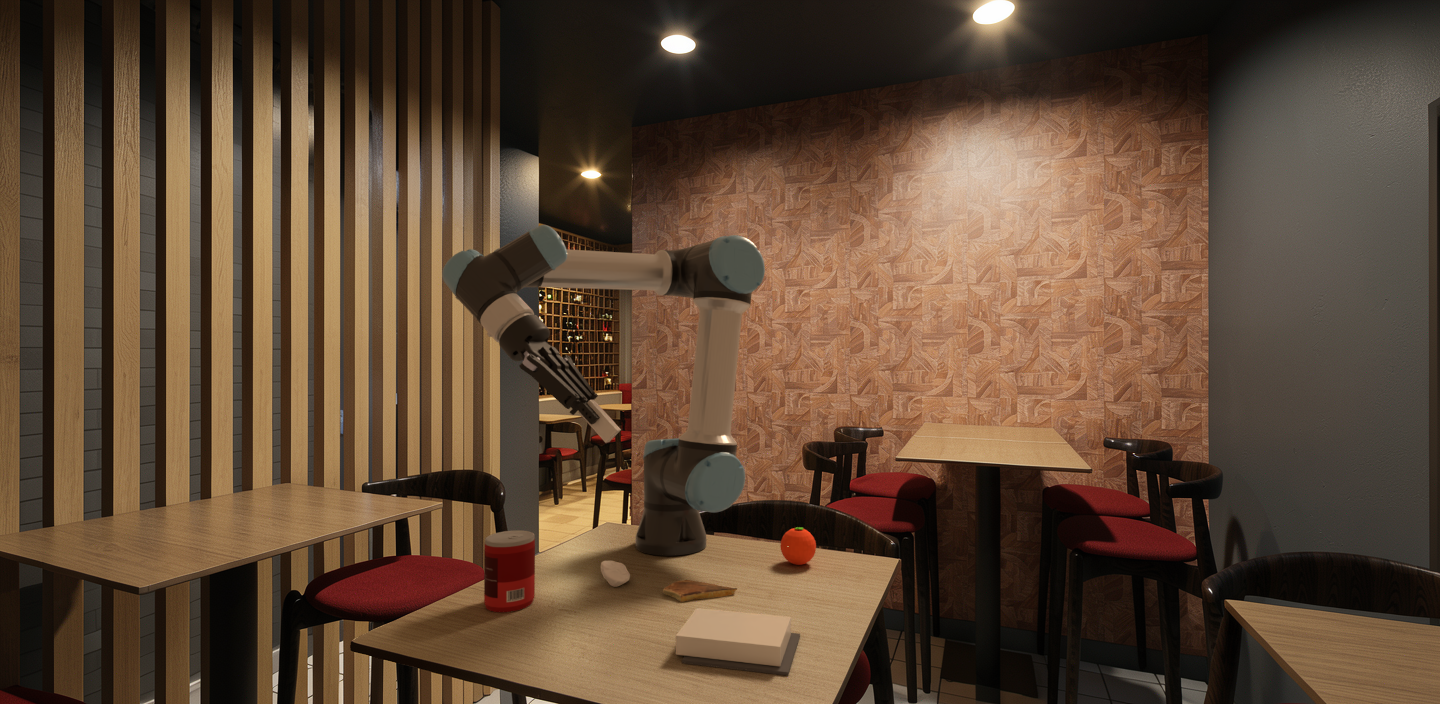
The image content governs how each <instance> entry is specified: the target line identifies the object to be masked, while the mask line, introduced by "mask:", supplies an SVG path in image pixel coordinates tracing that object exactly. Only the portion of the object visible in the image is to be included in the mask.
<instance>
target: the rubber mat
mask: <svg viewBox="0 0 1440 704" xmlns="http://www.w3.org/2000/svg"><path fill="white" fill-rule="evenodd" d="M800 639H801V633H797V632H791V636H790V639H789V642H788V645H787V648H786V651H785V654H784V657H783V660H782V663H781V666H771V665H763V664H754V663H745V662H737V661H728V660H719V659H711V658H702V657H694V656H685V655H683V656H684V657H683V658H682V659H681V663H682V664H688V665H694V666H695V665H696V666H704V667H713V668H720V669H729V670H736V671H737V670H738V671H746V672H755V673H763V674H771V675H772V674H773V675H780V676H789V675H790V671H791V668H792V664H793V661H794V658H795V655H796V651H797V649H798V644H799V641H800Z"/></svg>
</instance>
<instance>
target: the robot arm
mask: <svg viewBox="0 0 1440 704" xmlns="http://www.w3.org/2000/svg"><path fill="white" fill-rule="evenodd" d="M765 273H766V269H765V260H764V258H763V255H762V253H761V251H760V250H759V249H758V247H757V246H756V244H755V243H754V242H753V241H751V240H750V239H748V238H747V237H745V236H741V235H738V234H737V235H735V234H732V235H722V236H719V237H716V238H715V239H712V240H710V241H706V242H702V243H699V244H695V245H691V246H688V247H683V248H681V249H669V250H667V249H660V250H657V251H656V252H655V253H654V254H653V253H637V252H636V253H635V252H633V253H632V252H618V251H617V252H616V251H615V252H614V251H601V250H600V251H599V250H581V249H580V250H579V249H567V247H566V245H565V243H564V240H562V238H561V236H560V235H559V234H558V232H557V231H556V230H555V229H554V228H552V227H551V226H549V225H546V224H540V225H538V226H537V227H534V228H533V229H529V230H528V231H527V232H524V233H523V234H522V235H520V236H518V237H516V238H515V239H512V241H510V242H508V243H507V244H505V245H503V246H501V247H500V248H495V250H494V251H493V252H490V253H488V254H486V255H485V256H484V255H483V254H482V253H480V252H479V251H478V250H475V249H472V248H471V249H470V248H469V249H466V250H460V251H459V252H457V253H455V254H454V255H453V256H451V257H450V258H449V259H448V260H447V261H446V263H445V265H444V267H442V272H441V274H442V281H443V282H444V283H445V285H446V286H447V287H448V289H449V290H450V292H452V294H453V295H454V296H455V299H456V300H458V301H459V302H460V303H461V304H462V305H463V306H464V307H465V309H467V311H469V313H470V314H471V315H472V316H473V318H475V319H476V321H478V323H479V324H480V325H481V326H482V327H483V328H484V330H485V331H486V332H487V333H486V335H487V336H488V337H490V338H493V340H494V341H495V342H496V343H498V345H499V347H500V348H501V349H502V351H503V352H504V353H505V354H506V355H507V356H508V357H509V358H510V359H511V360H512V361H514V362H521V363H520V364H519V368H520V369H521V370H522V371H524V372H525V373H526V374H528V375H529V376H531V377H532V378H533V379H534V380H535V381H536V382H537V383H538V384H539V385H541V387H543V389H545V390H546V391H547V392H548V393H549V394H550V395H551V396H552V397H553V398H554V399H556V400H557V402H559V403H560V405H562V406H563V407H564V408H565V409H566V410H570V408H571V410H570V411H569V414H570V415H572V416H574V415H575V414H576V413H577V412H578V414H579V415H580V416H581V418H583V419H584V420H585V422H586V423H587V424H588V425H589V426H590V427H591V428H592V429H593V430H594V432H595V433H596V434H597V435H598V436H599V437H600V438H601V440H602V441H603V442H604V443H605V444H607V443H610V442H611V441H612V440H613V438H615V437H616V436H617V434H619V433H620V431H622V429H621V428H620V427H619V426H618V424H616V422H615V421H614V420H613V419H612V418H611V417H610V415H609V414H607V412H606V411H605V410H604V409H603V408H602V407H601V405H599V404H598V402H597V401H596V400H595V399H597V397H599V394H598V393H596V392H595V391H594V389H593V388H592V387H591V385H590V384H589V383H588V381H587V380H586V378H585V377H584V376H583V375H582V373H581V372H580V370H579V369H578V368H577V367H576V365H575V364H574V361H573V359H572V358H571V356H570V355H568V354H565V355H564V356H563V357H562V355H561V354H560V352H559V351H558V349H557V348H556V347H554V346H553V345H551V344H549V338H550V334H551V332H550V329H549V327H548V326H547V325H546V324H545V323H544V322H543V320H541V318H539V316H538V315H536V314H535V313H534V310H533V309H532V308H531V307H530V306H529V305H528V303H526V302H525V301H524V300H523V298H522V297H520V296H519V295H518V292H520V291H521V290H522V289H524V288H552V289H553V288H556V289H557V288H558V289H559V288H560V289H561V288H562V289H594V290H628V291H629V290H633V291H653V292H654V293H655V294H656V295H657V296H669V297H670V296H671V297H682V298H690V299H692V303H694V305H695V306H696V307H697V308H698V311H699V315H698V323H697V333H696V334H697V335H696V343H695V352H694V353H695V354H694V362H693V370H692V371H693V372H692V373H693V374H692V382H691V390H690V391H691V392H690V401H689V402H690V403H689V412H688V421H687V429H686V431H685V432H683V433H682V434H681V435H680V436H679V437H677V438H663V439H653V440H651V439H650V440H649V441H646V443H645V444H644V450H643V455H642V459H643V513H642V516H641V518H640V522H639V524H638V529H637V531H636V534H635V549H636V550H638V551H639V552H641V553H643V554H648V555H654V556H664V557H665V556H667V557H669V556H671V557H672V556H673V557H674V556H684V555H690V554H694V553H697V552H700V551H702V550H704V549H705V548H706V547H707V533H706V530H705V526H704V524H703V519H702V517H701V514H700V512H707V513H719V512H723V511H725V510H728V509H729V508H730V507H731V506H732V505H733V504H735V502H737V500H739V498H740V497H741V495H742V493H743V490H744V487H745V482H746V472H745V468H744V465H743V464H742V462H741V461H740V459H739V458H738V457H737V450H738V449H737V448H738V442H737V441H736V440H735V438H734V437H733V436H732V423H733V413H734V401H735V394H736V393H735V391H736V380H737V372H738V360H739V351H740V338H741V331H742V330H741V328H742V318H743V314H744V313H745V312H746V311H748V310H749V309H750V308H751V305H752V304H751V302H752V294H753V292H754V291H756V290H757V289H758V288H759V286H761V284H762V283H763V281H764V277H765Z"/></svg>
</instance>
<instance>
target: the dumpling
mask: <svg viewBox="0 0 1440 704" xmlns="http://www.w3.org/2000/svg"><path fill="white" fill-rule="evenodd" d="M600 572H601V575H602V577H603V578H604V579H605V581H606V582H608V584H609V585H610V586H612V587H615V588H617V587H619V586H621V585H623V584H625V583H627V582H629V580H630V578H631V574H630V572H629V571H628V569H627V567H626V565H625V564H624V563H622V562H617V561H614V560H603V561H602V562H600Z"/></svg>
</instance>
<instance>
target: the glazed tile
mask: <svg viewBox="0 0 1440 704" xmlns="http://www.w3.org/2000/svg"><path fill="white" fill-rule="evenodd" d="M791 633H792V617H791V616H785V615H775V614H774V615H773V614H765V613H764V614H763V613H753V612H752V613H751V612H742V611H733V610H721V609H711V608H702V607H701V608H700V607H696V608H695V609H694V611H693V612H692V614H691V615H690V616H689V617H688V618H687V620H686V622H685V623H684V624H683V625H682V626H681V628H680V629H679V630H678V632H677V633H676V634H675V655H678V656H694V657H702V658H711V659H719V660H728V661H737V662H745V663H754V664H763V665H771V666H781V663H782V660H783V657H784V654H785V651H786V648H787V645H788V642H789V639H790V636H791Z"/></svg>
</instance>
